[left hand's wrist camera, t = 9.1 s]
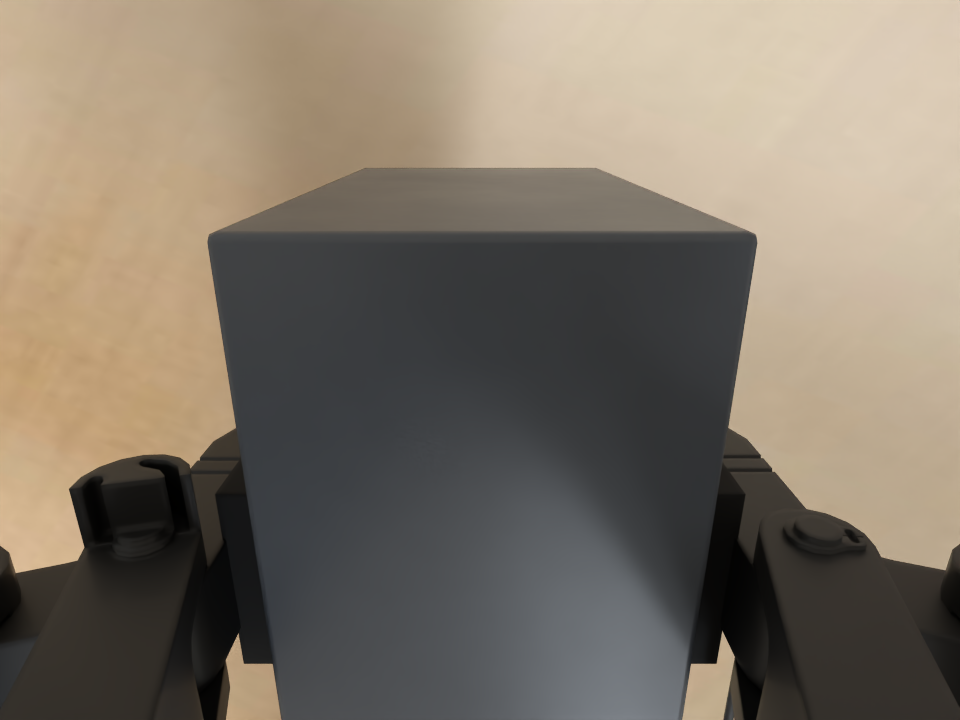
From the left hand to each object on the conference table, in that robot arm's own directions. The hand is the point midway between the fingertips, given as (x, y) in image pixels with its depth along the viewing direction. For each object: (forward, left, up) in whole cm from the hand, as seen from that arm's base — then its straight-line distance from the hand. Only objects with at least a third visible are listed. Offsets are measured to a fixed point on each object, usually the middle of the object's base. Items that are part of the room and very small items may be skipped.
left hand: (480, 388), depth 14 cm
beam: (+11, +33, -1) cm, 35 cm away
